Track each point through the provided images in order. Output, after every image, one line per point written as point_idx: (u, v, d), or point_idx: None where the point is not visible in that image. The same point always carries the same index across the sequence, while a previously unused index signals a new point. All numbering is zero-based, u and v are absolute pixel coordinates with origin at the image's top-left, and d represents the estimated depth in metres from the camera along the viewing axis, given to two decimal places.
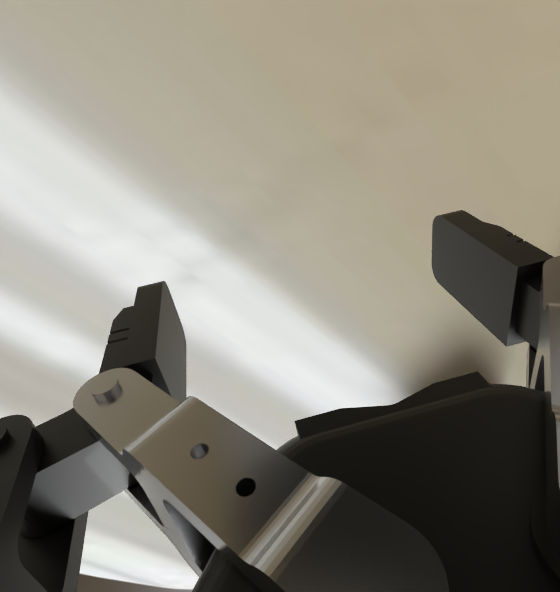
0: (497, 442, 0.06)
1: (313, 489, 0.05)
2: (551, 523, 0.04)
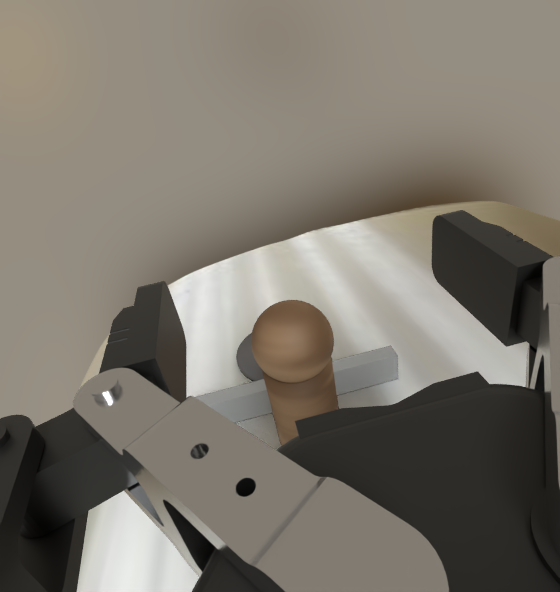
0: (497, 442, 0.06)
1: (313, 489, 0.05)
2: (551, 523, 0.04)
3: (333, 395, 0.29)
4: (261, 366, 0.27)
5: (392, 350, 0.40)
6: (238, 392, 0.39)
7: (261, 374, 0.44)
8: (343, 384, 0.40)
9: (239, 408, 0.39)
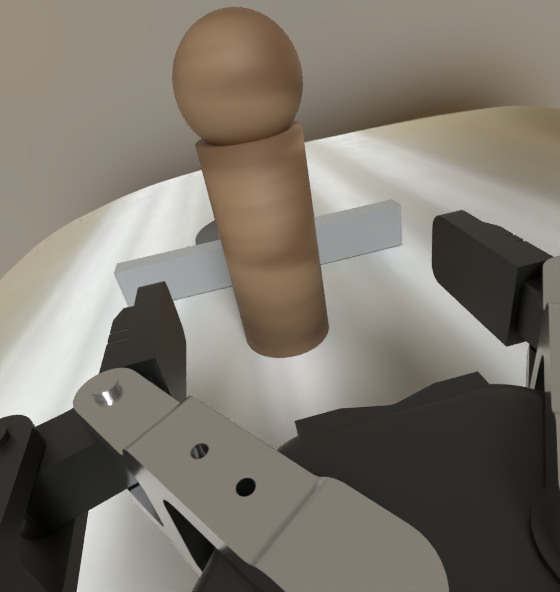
0: (497, 442, 0.06)
1: (313, 489, 0.05)
2: (551, 523, 0.04)
3: (304, 183, 0.19)
4: (186, 108, 0.17)
5: (394, 202, 0.30)
6: (187, 252, 0.29)
7: None
8: (328, 247, 0.30)
9: (188, 275, 0.29)
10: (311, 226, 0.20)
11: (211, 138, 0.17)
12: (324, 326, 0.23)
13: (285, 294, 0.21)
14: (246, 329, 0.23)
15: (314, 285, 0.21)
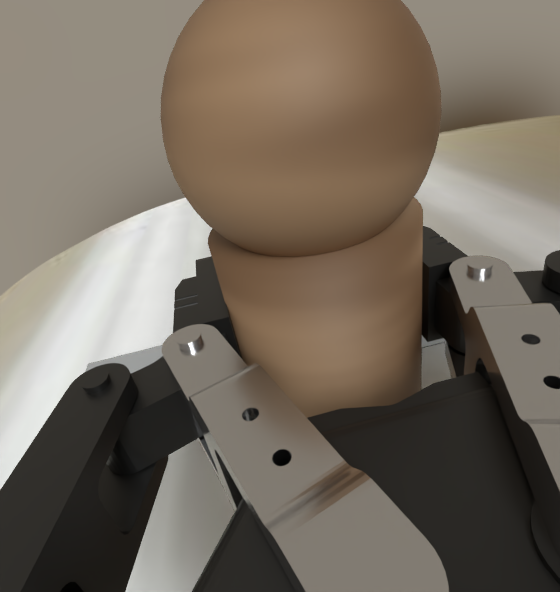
0: (497, 442, 0.06)
1: (342, 477, 0.05)
2: (551, 523, 0.04)
3: (420, 314, 0.10)
4: (190, 187, 0.08)
5: None
6: None
7: None
8: None
9: None
10: (420, 378, 0.11)
11: (244, 244, 0.08)
12: None
13: None
14: None
15: None
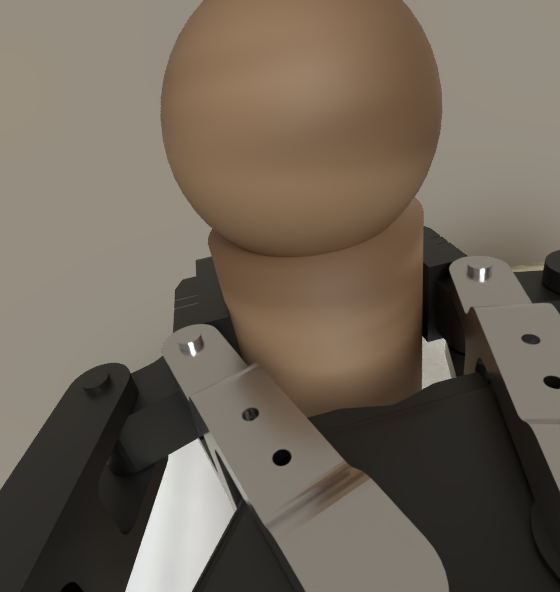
0: (497, 442, 0.06)
1: (342, 477, 0.05)
2: (551, 523, 0.04)
3: (420, 314, 0.10)
4: (190, 187, 0.08)
5: None
6: None
7: None
8: None
9: None
10: (420, 378, 0.11)
11: (244, 244, 0.08)
12: None
13: None
14: None
15: None
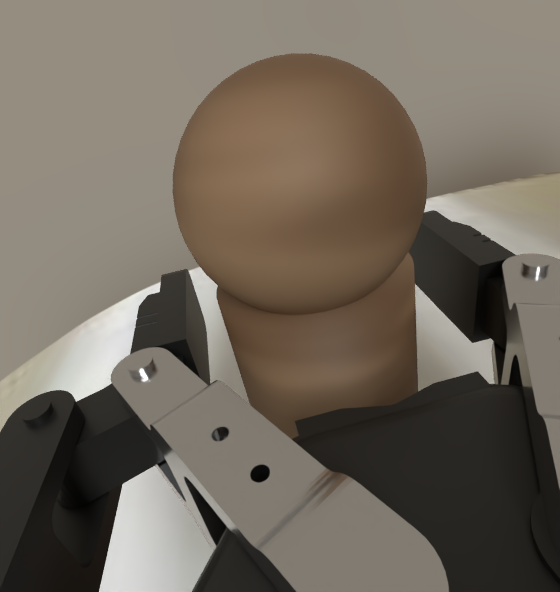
0: (497, 442, 0.06)
1: (324, 483, 0.05)
2: (551, 523, 0.04)
3: (414, 358, 0.11)
4: (201, 257, 0.08)
5: None
6: None
7: None
8: None
9: None
10: None
11: (250, 304, 0.09)
12: None
13: None
14: None
15: None
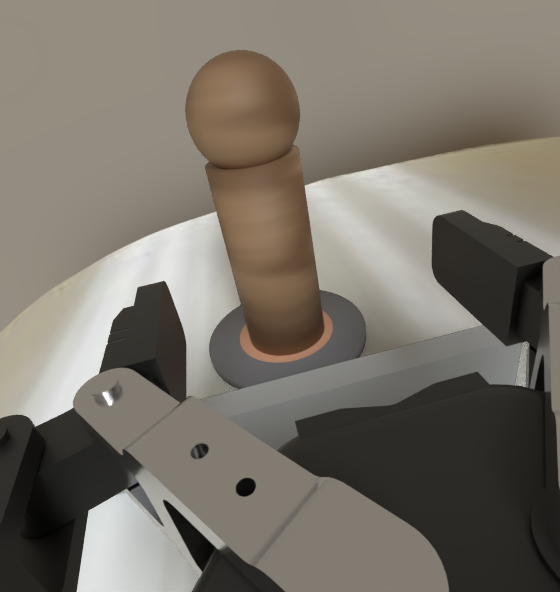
0: (497, 442, 0.06)
1: (313, 489, 0.05)
2: (551, 523, 0.04)
3: (302, 201, 0.22)
4: (197, 138, 0.19)
5: None
6: None
7: (251, 376, 0.24)
8: None
9: None
10: (308, 238, 0.23)
11: (219, 163, 0.20)
12: (320, 327, 0.26)
13: (285, 299, 0.23)
14: (250, 330, 0.26)
15: (311, 290, 0.24)
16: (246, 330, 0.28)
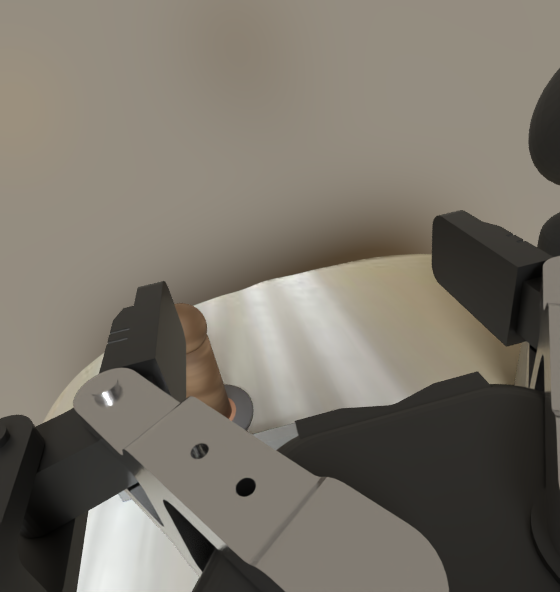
0: (497, 442, 0.06)
1: (313, 489, 0.05)
2: (551, 523, 0.04)
3: (210, 363, 0.46)
4: None
5: None
6: None
7: None
8: None
9: None
10: (215, 377, 0.47)
11: None
12: (227, 415, 0.50)
13: None
14: None
15: (219, 400, 0.48)
16: None
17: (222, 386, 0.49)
